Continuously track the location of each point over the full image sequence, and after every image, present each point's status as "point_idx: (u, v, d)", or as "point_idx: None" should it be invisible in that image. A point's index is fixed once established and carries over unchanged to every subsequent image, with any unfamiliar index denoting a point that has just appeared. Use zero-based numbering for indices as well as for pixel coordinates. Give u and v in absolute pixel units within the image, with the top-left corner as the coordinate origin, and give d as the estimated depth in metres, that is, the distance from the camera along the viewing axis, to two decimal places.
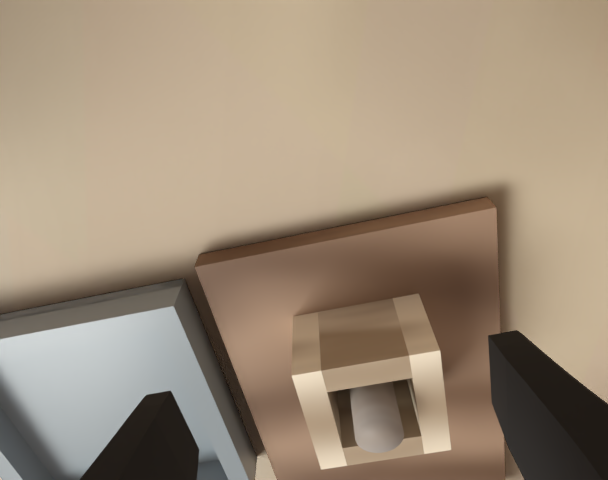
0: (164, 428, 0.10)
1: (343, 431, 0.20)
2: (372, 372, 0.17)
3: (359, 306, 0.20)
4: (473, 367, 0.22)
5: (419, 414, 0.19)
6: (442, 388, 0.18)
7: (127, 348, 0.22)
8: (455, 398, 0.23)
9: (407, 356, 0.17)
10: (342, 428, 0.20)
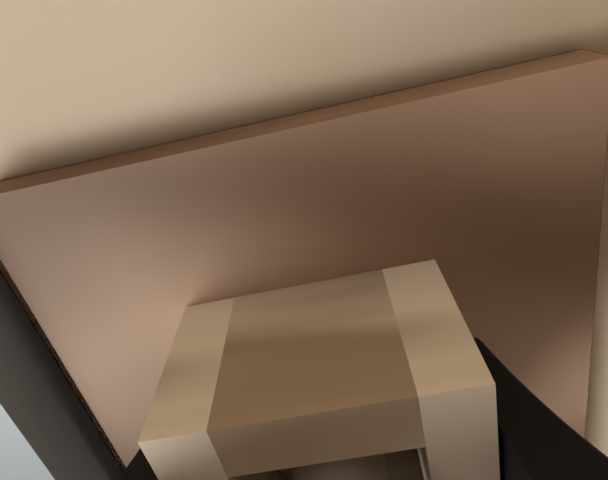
0: None
1: None
2: (329, 435, 0.07)
3: (315, 286, 0.10)
4: None
5: None
6: (495, 469, 0.08)
7: None
8: None
9: (414, 398, 0.07)
10: None
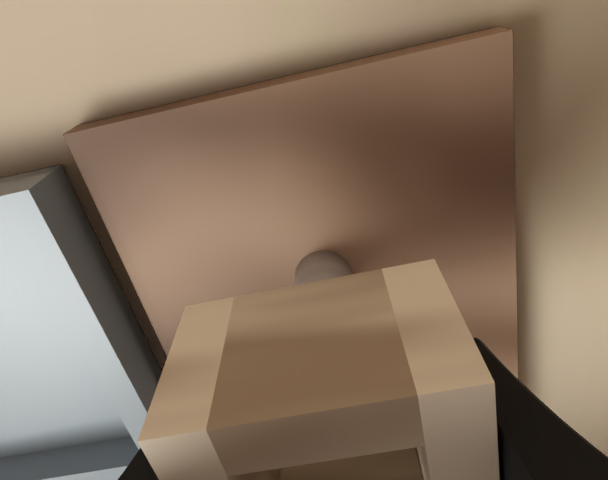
0: None
1: None
2: (329, 434, 0.07)
3: (315, 285, 0.10)
4: (477, 298, 0.16)
5: None
6: (494, 468, 0.08)
7: None
8: None
9: (413, 397, 0.07)
10: None
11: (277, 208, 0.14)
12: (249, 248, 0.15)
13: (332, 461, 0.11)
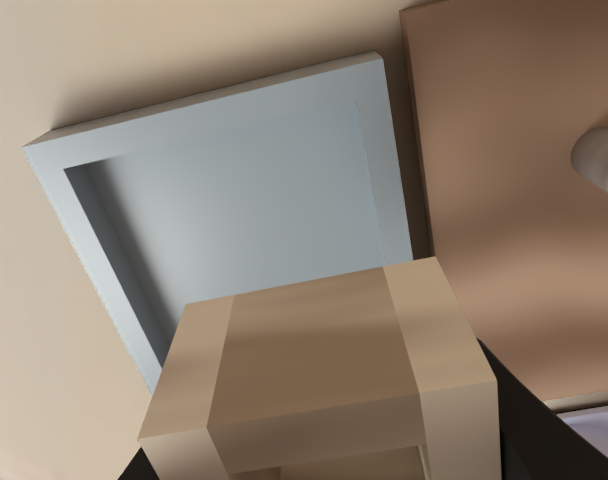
0: None
1: None
2: (329, 431, 0.07)
3: (315, 283, 0.10)
4: None
5: None
6: (496, 466, 0.08)
7: (292, 153, 0.17)
8: None
9: (414, 394, 0.07)
10: None
11: (573, 83, 0.16)
12: (537, 124, 0.17)
13: (333, 460, 0.11)
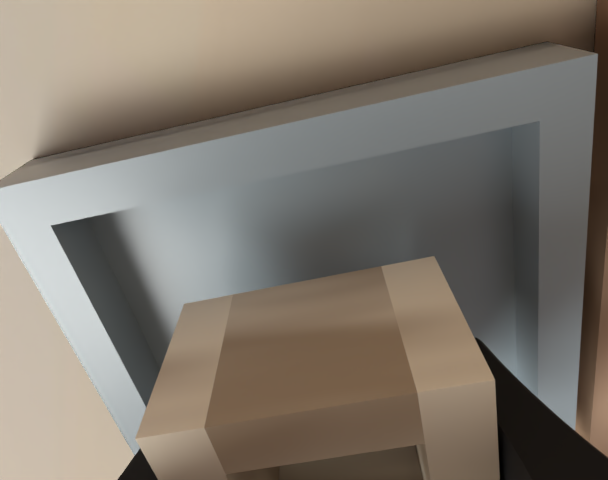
0: None
1: None
2: (327, 431, 0.07)
3: (314, 282, 0.10)
4: None
5: None
6: (494, 466, 0.08)
7: (403, 199, 0.11)
8: None
9: (413, 394, 0.07)
10: None
11: None
12: None
13: (331, 459, 0.11)
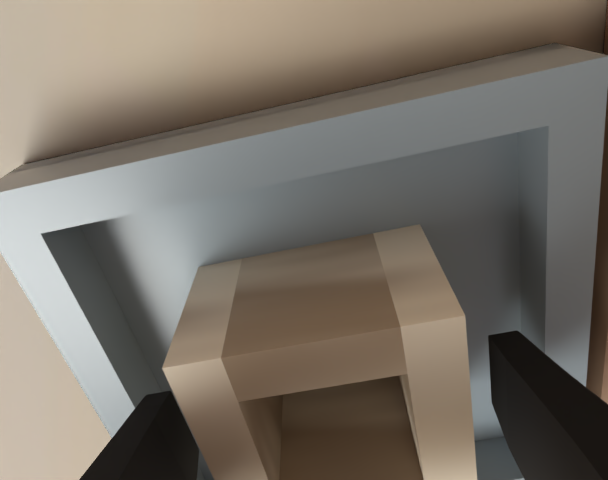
0: (164, 428, 0.10)
1: (284, 471, 0.11)
2: (324, 361, 0.09)
3: (314, 247, 0.11)
4: None
5: (421, 445, 0.10)
6: (467, 395, 0.09)
7: (406, 205, 0.11)
8: None
9: (396, 328, 0.08)
10: (283, 465, 0.11)
11: None
12: None
13: (328, 409, 0.13)
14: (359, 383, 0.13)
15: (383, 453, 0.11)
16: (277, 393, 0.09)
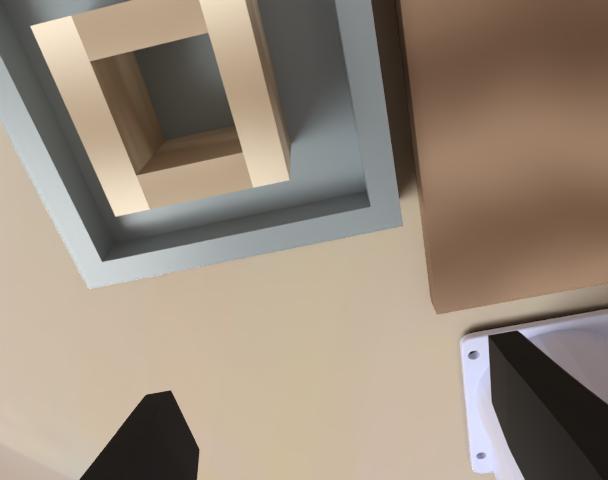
0: (164, 428, 0.10)
1: (147, 165, 0.15)
2: (146, 20, 0.12)
3: None
4: None
5: (232, 109, 0.13)
6: (255, 55, 0.12)
7: None
8: None
9: None
10: (147, 163, 0.15)
11: None
12: None
13: (193, 141, 0.16)
14: (222, 130, 0.17)
15: (222, 148, 0.14)
16: (117, 52, 0.12)
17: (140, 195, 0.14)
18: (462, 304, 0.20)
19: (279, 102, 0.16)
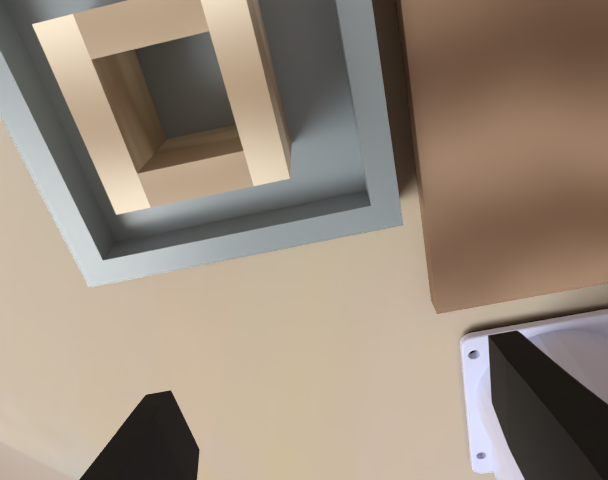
0: (164, 428, 0.10)
1: (148, 163, 0.15)
2: (148, 18, 0.12)
3: None
4: None
5: (233, 107, 0.13)
6: (256, 53, 0.12)
7: None
8: None
9: None
10: (148, 162, 0.15)
11: None
12: None
13: (194, 140, 0.16)
14: (223, 129, 0.17)
15: (222, 147, 0.15)
16: (118, 50, 0.12)
17: (141, 193, 0.14)
18: (462, 304, 0.20)
19: (280, 101, 0.16)
